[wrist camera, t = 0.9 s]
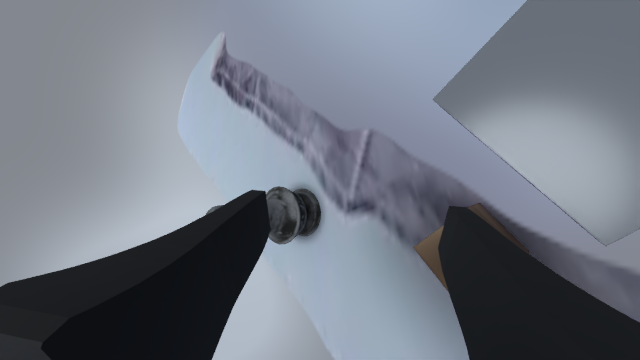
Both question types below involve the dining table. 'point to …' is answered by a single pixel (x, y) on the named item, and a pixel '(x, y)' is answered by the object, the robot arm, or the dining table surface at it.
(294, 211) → the salt shaker
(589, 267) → the dining table surface
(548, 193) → the slate coaster
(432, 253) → the walnut block
